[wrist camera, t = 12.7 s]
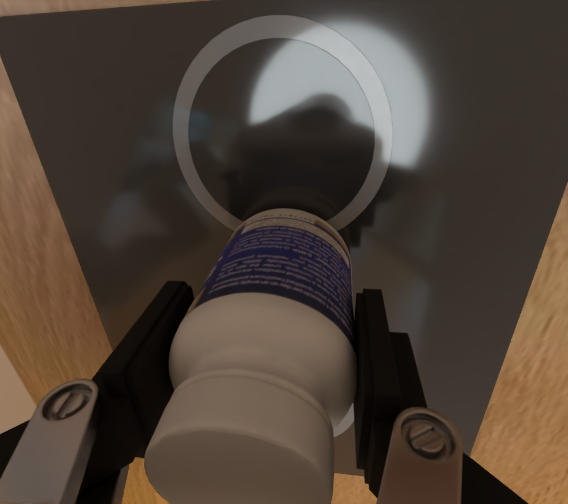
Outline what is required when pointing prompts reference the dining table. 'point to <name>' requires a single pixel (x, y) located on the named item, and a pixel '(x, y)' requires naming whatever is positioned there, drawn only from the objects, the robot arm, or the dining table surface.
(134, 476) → the dining table surface
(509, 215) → the hob
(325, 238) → the pill bottle
